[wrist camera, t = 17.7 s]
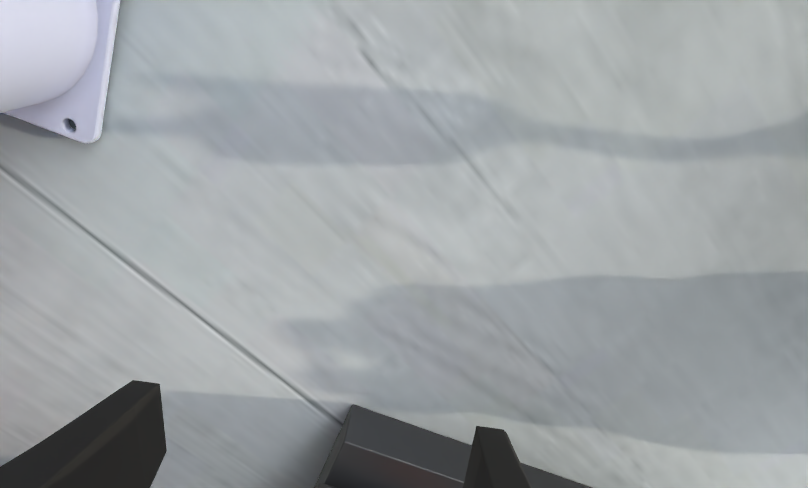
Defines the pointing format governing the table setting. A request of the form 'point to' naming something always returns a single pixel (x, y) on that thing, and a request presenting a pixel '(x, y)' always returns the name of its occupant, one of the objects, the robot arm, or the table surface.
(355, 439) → the scale housing
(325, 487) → the pan
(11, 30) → the robot arm
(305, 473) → the table surface
